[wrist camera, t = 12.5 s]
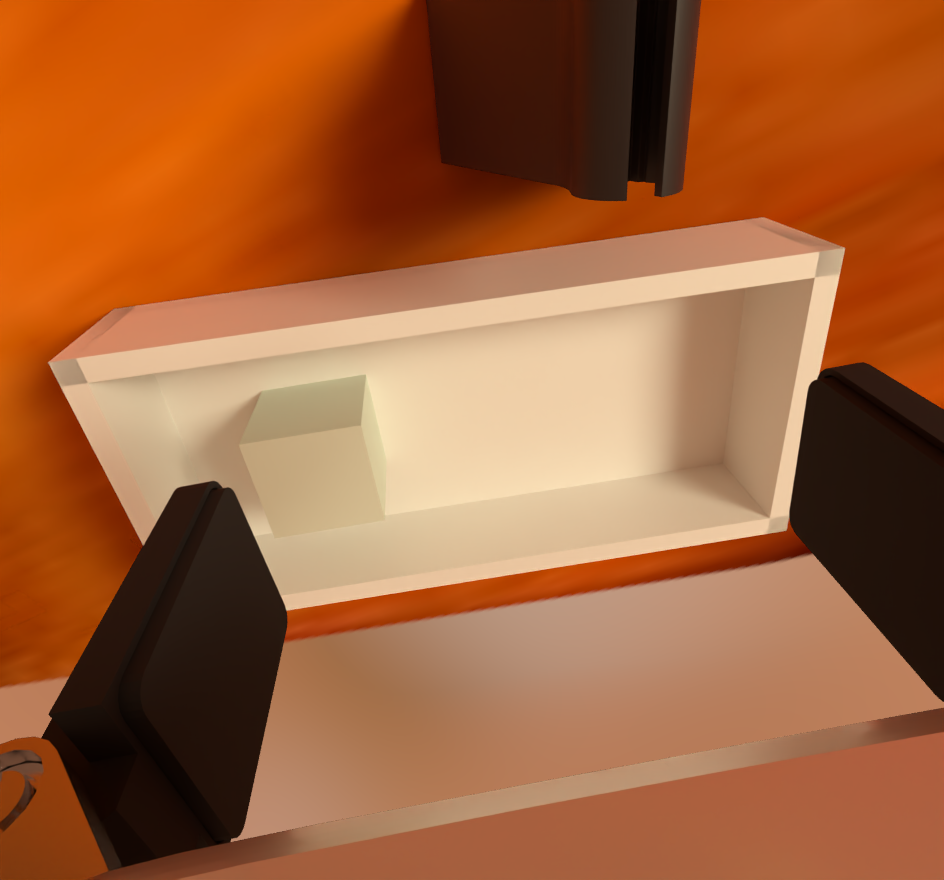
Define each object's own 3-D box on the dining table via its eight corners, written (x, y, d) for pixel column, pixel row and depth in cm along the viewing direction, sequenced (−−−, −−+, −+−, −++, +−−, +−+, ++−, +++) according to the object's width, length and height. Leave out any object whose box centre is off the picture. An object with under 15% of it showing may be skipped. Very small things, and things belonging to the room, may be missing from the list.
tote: (763, 217, 28) (844, 248, 23) (729, 465, 35) (786, 530, 30) (113, 308, 27) (48, 362, 22) (216, 545, 34) (185, 626, 29)
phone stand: (660, -33, 23) (874, -124, 13) (648, 142, 26) (811, 184, 16) (424, -15, 22) (447, -95, 12) (440, 161, 25) (469, 216, 15)
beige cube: (366, 374, 29) (360, 425, 25) (386, 460, 32) (384, 520, 27) (262, 390, 29) (238, 444, 25) (291, 476, 31) (274, 538, 27)
